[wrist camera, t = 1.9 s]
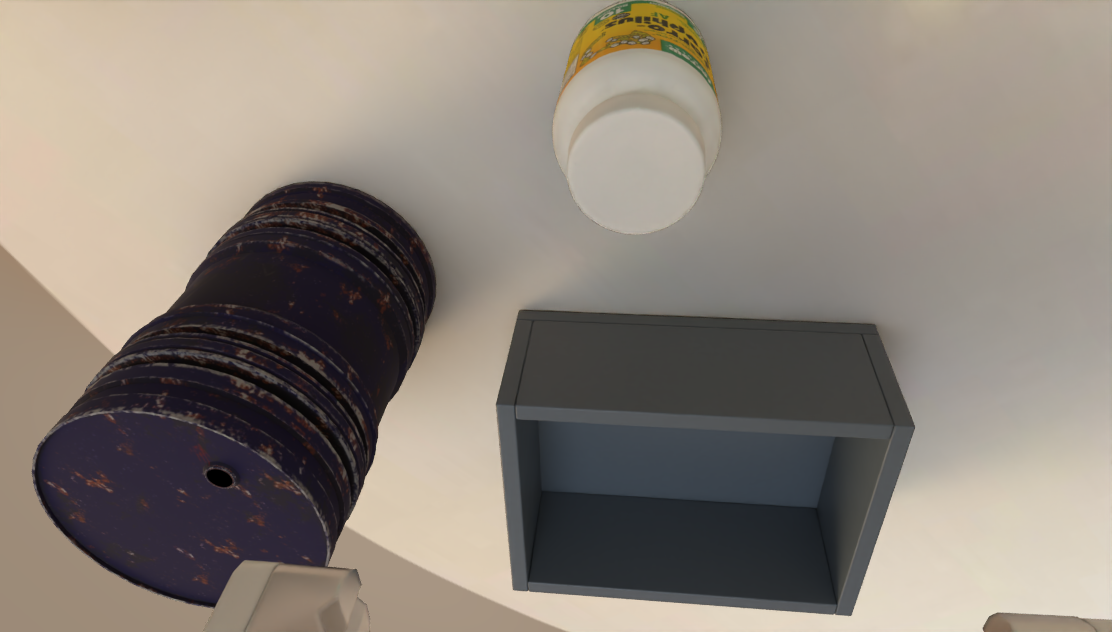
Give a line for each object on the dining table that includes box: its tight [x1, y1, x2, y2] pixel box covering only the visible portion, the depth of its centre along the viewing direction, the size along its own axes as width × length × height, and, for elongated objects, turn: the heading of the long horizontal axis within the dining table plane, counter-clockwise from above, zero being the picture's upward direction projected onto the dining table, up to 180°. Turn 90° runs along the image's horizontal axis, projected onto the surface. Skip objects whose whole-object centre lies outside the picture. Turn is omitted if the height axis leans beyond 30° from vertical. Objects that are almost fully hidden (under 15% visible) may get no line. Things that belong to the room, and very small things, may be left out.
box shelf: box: [496, 310, 915, 616], centre depth 37 cm, size 17×13×7 cm
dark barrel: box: [32, 182, 436, 608], centre depth 31 cm, size 10×10×15 cm
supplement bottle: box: [552, 0, 722, 234], centre depth 26 cm, size 5×5×10 cm
